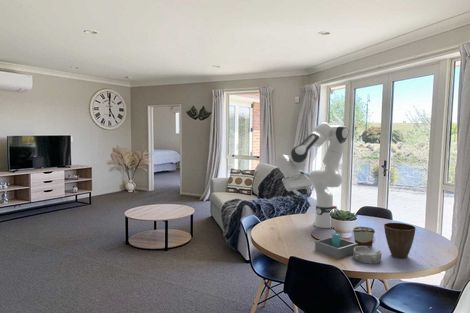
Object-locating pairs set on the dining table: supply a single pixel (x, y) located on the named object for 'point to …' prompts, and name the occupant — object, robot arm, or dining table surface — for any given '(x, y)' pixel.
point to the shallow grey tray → (328, 249)
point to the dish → (366, 255)
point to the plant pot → (399, 238)
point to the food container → (364, 236)
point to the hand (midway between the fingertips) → (304, 194)
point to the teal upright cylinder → (336, 240)
